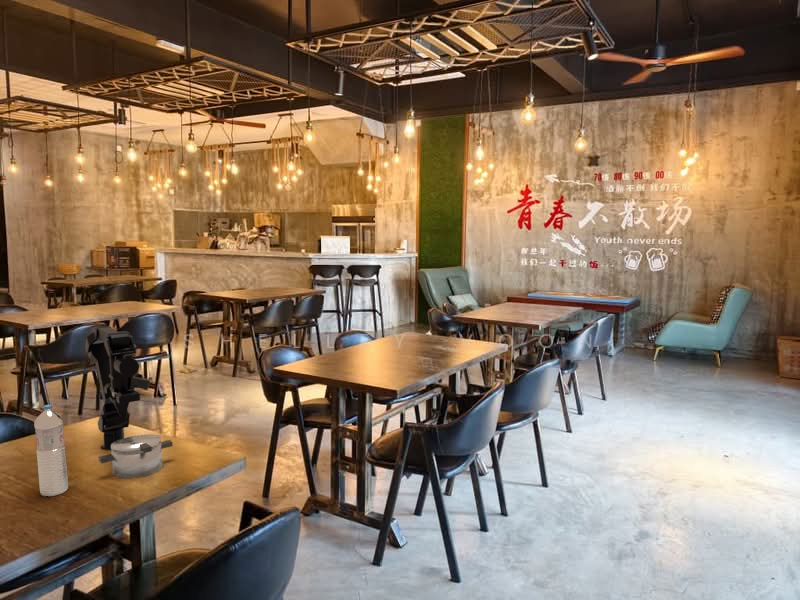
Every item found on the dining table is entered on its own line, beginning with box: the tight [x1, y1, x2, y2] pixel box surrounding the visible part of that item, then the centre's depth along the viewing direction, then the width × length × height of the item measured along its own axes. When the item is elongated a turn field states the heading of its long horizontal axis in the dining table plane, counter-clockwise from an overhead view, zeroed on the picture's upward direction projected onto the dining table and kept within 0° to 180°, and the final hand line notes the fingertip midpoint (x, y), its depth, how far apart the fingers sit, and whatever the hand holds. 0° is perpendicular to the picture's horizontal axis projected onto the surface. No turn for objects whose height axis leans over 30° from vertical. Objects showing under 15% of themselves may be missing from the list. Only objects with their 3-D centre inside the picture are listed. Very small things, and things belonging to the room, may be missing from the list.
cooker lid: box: [110, 434, 162, 453], centre depth 173 cm, size 18×14×2 cm
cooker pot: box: [98, 439, 174, 479], centre depth 176 cm, size 15×21×7 cm
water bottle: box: [33, 404, 69, 497], centre depth 159 cm, size 7×7×25 cm
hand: (123, 418), depth 184 cm, fingers closed
